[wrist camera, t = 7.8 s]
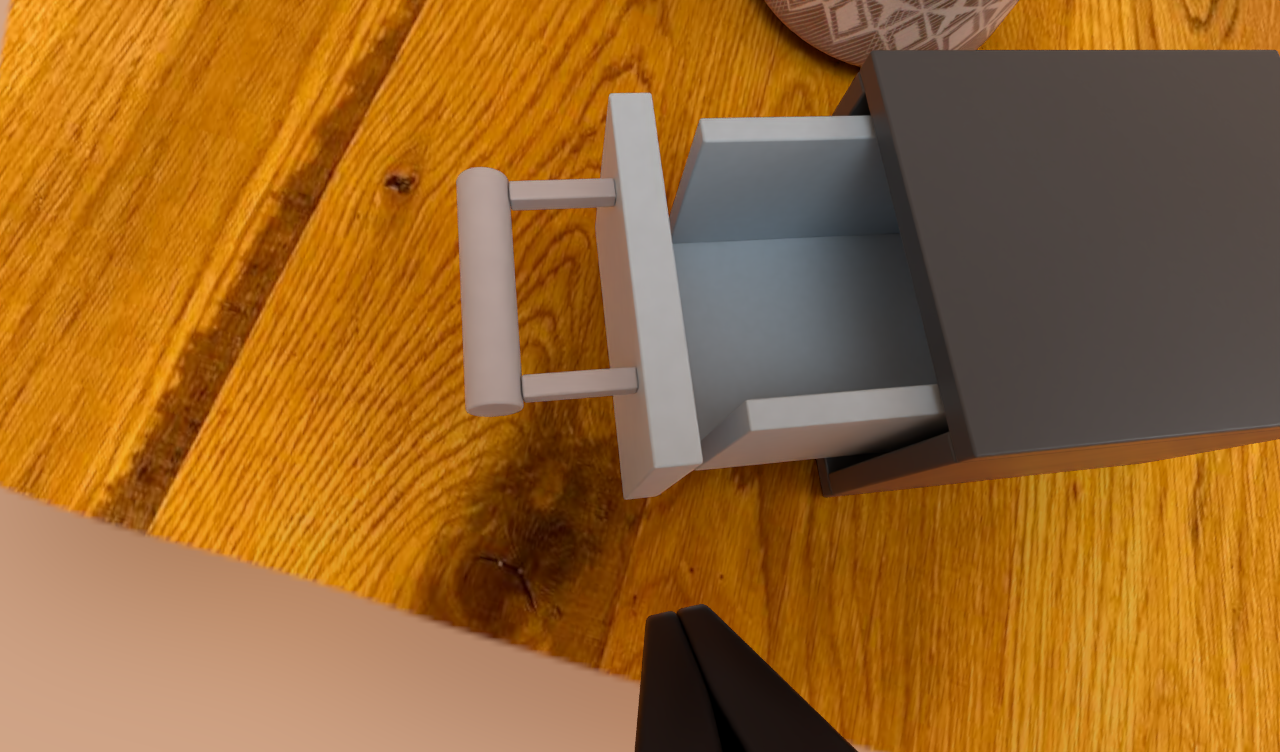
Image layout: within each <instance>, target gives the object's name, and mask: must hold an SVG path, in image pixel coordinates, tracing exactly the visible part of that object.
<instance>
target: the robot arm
mask: <svg viewBox="0 0 1280 752" xmlns="http://www.w3.org/2000/svg"><path fill="white" fill-rule="evenodd" d="M635 752H858V751H857V750H856V749H855V748H854V747H853V746H852V745H851V744H850V743H848V742H847V741H846V740H845V739H844V738H843V737H842V736H841V735H840V734H839V733H838V732H837V731H836V730H835V729H834V728H833V727H832V726H831V725H830V724H829V723H828V722H827V721H826V720H825V719H824V718H823V717H822V716H821V715H820V714H819V713H818V712H817V711H816V710H814V709H813V708H812V707H811V706H810V705H809V704H808V703H807V702H806V701H805V700H804V699H803V698H802V697H801V696H800V695H799V694H798V693H797V692H796V691H795V690H794V689H793V688H792V687H791V686H790V685H789V684H788V683H787V682H786V681H785V680H784V679H783V678H781V677H780V676H779V675H778V674H777V673H776V672H775V671H774V670H773V669H772V668H771V667H770V666H769V665H768V664H767V663H766V662H765V661H764V660H763V659H762V658H761V657H760V656H759V655H758V654H757V653H756V652H755V651H754V650H753V649H752V648H751V647H750V646H749V645H747V644H746V643H745V642H744V641H743V640H742V639H741V638H740V637H739V636H738V635H737V634H736V633H735V632H734V631H733V630H732V629H731V628H730V627H729V626H728V625H727V624H726V623H725V622H724V621H723V620H722V619H721V618H720V617H719V616H718V615H717V614H716V613H715V612H713V611H712V610H711V609H710V608H709V607H708V606H706V605H704V604H699V605H694V606H690V607H686V608H681V609H679V610H678V611H677V614H676V613H675V612H673V611H668V612H664V613H660V614H655V615H651V616H649V617H648V618H647V620H646V626H645V637H644V649H643V660H642V672H641V684H640V695H639V707H638V718H637V731H636V742H635Z"/></svg>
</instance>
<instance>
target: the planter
mask: <svg viewBox="0 0 1280 752" xmlns="http://www.w3.org/2000/svg"><path fill="white" fill-rule="evenodd" d="M764 1H765V2H766V4H767V5H768V6H769V8H770V9H771V10H772V11H773V13H774V14H775V15H776V16H777V17H778V18H779V19H780V20H781V21H782V22H783V24H785V25H786V26H787V27H788V28H789V29H790V30H791V31H792V32H794V33H795V34H796V35H797V36H799V37H800V38H801V39H803V40H804V41H806V42H807V43H808V44H810V45H812V46H813V47H815V48H816V49H818V50H820V51H822V52H824V53H826V54H827V55H830V56H832V57H834V58H836V59H838V60H841V61H844V62H846V63H849V64H852V65H855V66H858V67H862V65H863V63H864V62H865V60H866V58H867V57H868V55H869V53H870V52H871V51H873V50H976V49H977V48H979V47H980V46H981V45H982V44H983V43H984V42H985V41H986V40H987V39H988V38H989V37H990V35H991V34H992V33H993V32H994V31H995V29H996V28H997V27H998V26H999V24H1000V23H1001V22H1002V21H1003V19H1004V18H1005V17H1006V16H1007V15H1008V13H1009V12H1010V11H1011V10H1012V8H1013V7H1014V6H1015V5H1016V3H1017V2H1018V1H1019V0H764Z"/></svg>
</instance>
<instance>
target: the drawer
mask: <svg viewBox="0 0 1280 752" xmlns="http://www.w3.org/2000/svg"><path fill="white" fill-rule="evenodd" d="M456 185H457V210H458V234H459V259H460V283H461V308H462V332H463V357H464V381H465V406H466V411H467V413H469V414H471V415H475V416H484V417H493V416H504V415H509V414H513V413H516V412H519V411H521V410H522V409H523V406H524V405H523V400H524V402H539V401H552V400H564V399H577V398H589V397H602V396H613V402H614V411H615V421H616V430H617V440H618V449H619V459H620V468H621V478H622V487H623V497H624V499H626V500H627V499H636V498H646V497H655V496H658V495H659V494H661V493H662V492H663V491H665V490H666V489H668V488H669V487H670V486H672V485H673V484H675V483H676V482H677V481H679V480H680V479H681V478H683V477H684V476H686V475H687V474H688V473H690V472H691V471H692V470H694V469H695V470H707V469H717V468H728V467H738V466H748V465H758V464H768V463H778V462H788V461H798V460H808V459H818V458H828V457H838V456H848V455H858V454H868V453H879V452H889V451H895V450H898V449H900V448H903V447H906V446H909V445H912V444H915V443H918V442H921V441H923V440H926V439H929V438H932V437H935V436H938V435H941V434H944V433H946V432H949V428H948V424H947V420H946V416H945V412H944V408H943V404H942V400H941V396H940V392H939V388H938V384H937V380H936V376H935V371H934V367H933V363H932V359H931V355H930V351H929V347H928V343H927V339H926V335H925V331H924V327H923V323H922V319H921V315H920V311H919V307H918V303H917V299H916V295H915V291H914V287H913V283H912V279H911V275H910V271H909V267H908V263H907V259H906V255H905V251H904V247H903V243H902V239H901V235H900V231H899V227H898V223H897V219H896V215H895V211H894V207H893V202H892V198H891V194H890V190H889V186H888V182H887V178H886V174H885V170H884V166H883V162H882V158H881V154H880V150H879V146H878V142H877V138H876V134H875V130H874V126H873V122H872V118H871V116H811V117H751V118H702V119H700V121H699V124H698V127H697V130H696V133H695V137H694V140H693V143H692V146H691V149H690V152H689V156H688V159H687V162H686V165H685V168H684V172H683V175H682V178H681V181H680V184H679V187H678V191H677V194H676V197H675V200H674V203H673V207H672V210H671V213H670V216H669V215H668V208H667V201H666V194H665V187H664V179H663V172H662V165H661V158H660V151H659V144H658V137H657V130H656V123H655V115H654V108H653V101H652V95H651V93H611V94H610V95H609V101H608V110H607V119H606V129H605V138H604V148H603V157H602V167H601V176H600V179H567V180H533V181H510V182H509V181H508V179H507V177H506V176H505V175H504V174H503V173H502V172H500V171H498V170H496V169H493V168H488V167H475V168H470V169H467V170H465V171H463V172H462V173H460V175H459V176H458V178H457V181H456ZM510 206H511V208H510ZM594 207H597V214H596V223H595V231H596V240H597V250H598V259H599V269H600V278H601V288H602V297H603V307H604V316H605V326H606V335H607V345H608V354H609V364H610V368H609V369H595V370H582V371H568V372H555V373H541V374H528V375H523V376H522V374H521V359H520V344H519V329H518V314H517V299H516V284H515V268H514V253H513V238H512V223H511V209H512V210H540V209H567V208H594Z"/></svg>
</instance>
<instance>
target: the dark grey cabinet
mask: <svg viewBox="0 0 1280 752" xmlns="http://www.w3.org/2000/svg"><path fill="white" fill-rule="evenodd" d="M832 116H871V118H872V122H873V126H874V130H875V134H876V138H877V142H878V146H879V150H880V154H881V158H882V162H883V166H884V170H885V174H886V178H887V182H888V186H889V190H890V194H891V198H892V202H893V207H894V211H895V215H896V219H897V223H898V227H899V231H900V235H901V239H902V243H903V247H904V251H905V255H906V259H907V263H908V267H909V271H910V275H911V279H912V283H913V287H914V291H915V295H916V299H917V303H918V307H919V311H920V315H921V319H922V323H923V327H924V331H925V335H926V339H927V343H928V347H929V351H930V355H931V359H932V363H933V367H934V371H935V376H936V380H937V384H938V388H939V392H940V396H941V400H942V404H943V408H944V412H945V416H946V420H947V424H948V428H949V432H946V433H944V434H941V435H938V436H935V437H932V438H929V439H926V440H923V441H921V442H918V443H915V444H912V445H909V446H906V447H903V448H900V449H898V450H895V451H889V452H879V453H868V454H858V455H848V456H838V457H828V458H818V459H816V460H817V466H818V471H819V476H820V482H821V487H822V492H823V496H824V497H826V498H827V497H836V496H845V495H854V494H863V493H873V492H882V491H891V490H900V489H909V488H918V487H928V486H937V485H946V484H955V483H964V482H974V481H983V480H992V479H1001V478H1010V477H1019V476H1029V475H1038V474H1047V473H1056V472H1065V471H1074V470H1084V469H1093V468H1102V467H1111V466H1120V465H1129V464H1139V463H1147V462H1153V461H1158V460H1164V459H1169V458H1175V457H1181V456H1186V455H1192V454H1197V453H1203V452H1209V451H1214V450H1220V449H1225V448H1231V447H1237V446H1242V445H1248V444H1254V443H1259V442H1265V441H1270V440H1276V439H1280V56H1279V54H1278V52H1277V51H1276V50H873V51H871V52H870V53H869V55H868V57H867V58H866V60H865V62H864V63H863V65H862V67H861V68H860V72H858V73H857V75H856V77H855V78H854V80H853V82H852V83H851V85H850V87H849V88H848V90H847V91H846V93H845V95H844V96H843V98H842V100H841V101H840V103H839V105H838V106H837V108H836V110H835V111H834V113H833V115H832Z"/></svg>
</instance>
